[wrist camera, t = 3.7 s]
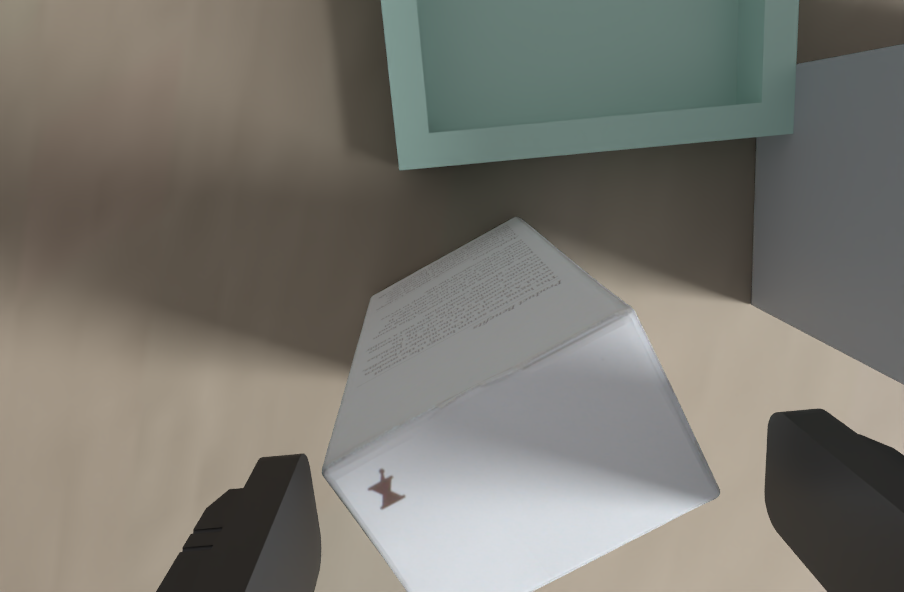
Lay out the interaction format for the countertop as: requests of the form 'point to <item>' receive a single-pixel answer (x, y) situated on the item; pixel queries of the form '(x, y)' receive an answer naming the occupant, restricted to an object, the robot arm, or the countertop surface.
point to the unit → (837, 209)
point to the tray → (584, 75)
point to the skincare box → (508, 422)
